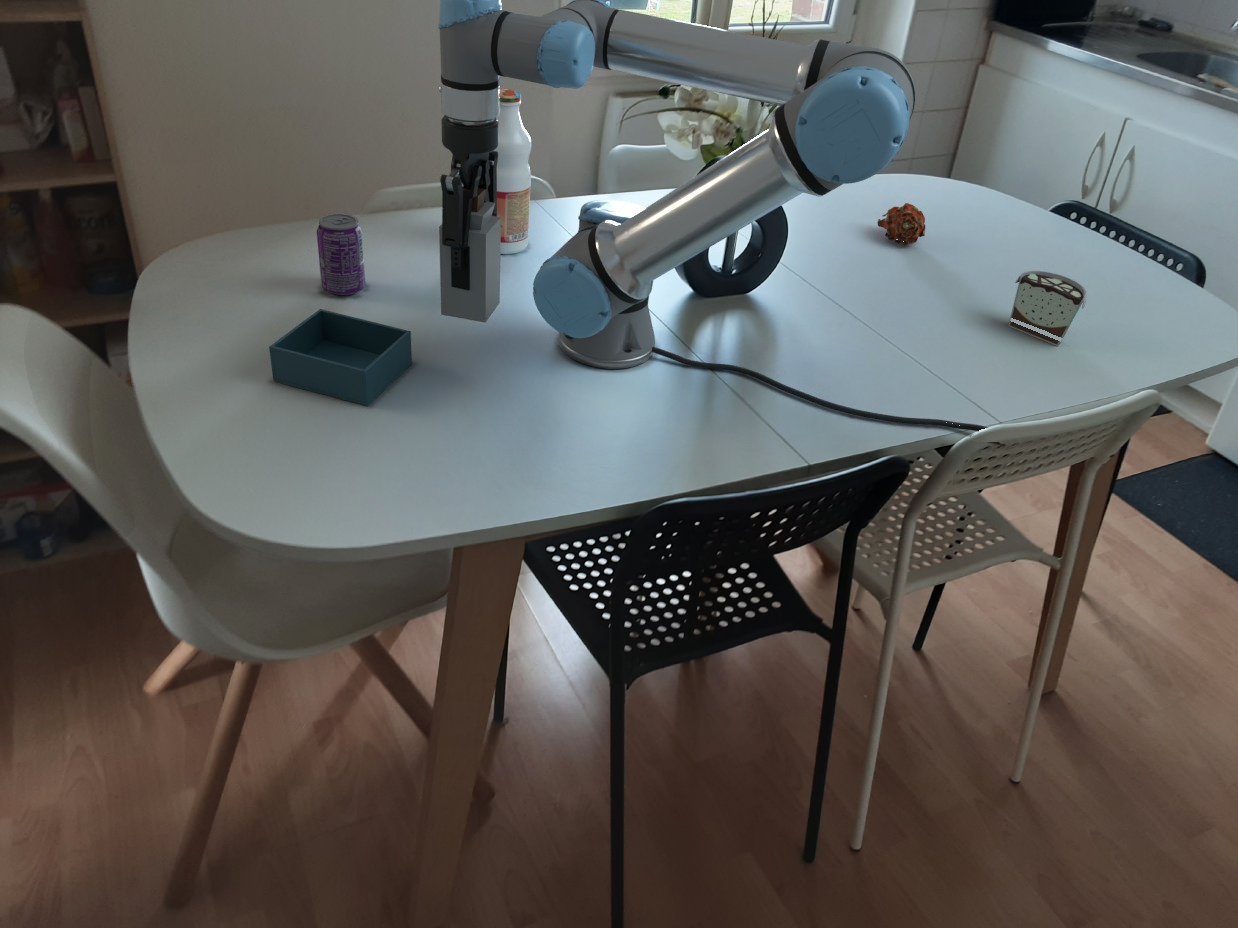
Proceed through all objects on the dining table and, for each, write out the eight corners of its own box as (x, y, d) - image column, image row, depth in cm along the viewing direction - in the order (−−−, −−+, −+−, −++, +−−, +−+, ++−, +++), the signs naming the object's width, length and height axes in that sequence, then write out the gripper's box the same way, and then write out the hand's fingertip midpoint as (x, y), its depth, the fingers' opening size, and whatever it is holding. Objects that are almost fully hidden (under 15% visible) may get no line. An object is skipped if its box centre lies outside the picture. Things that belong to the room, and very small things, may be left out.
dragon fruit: (907, 261, 199) (881, 245, 210) (942, 237, 199) (914, 222, 209) (891, 227, 195) (865, 213, 205) (927, 202, 194) (899, 189, 205)
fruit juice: (530, 256, 180) (536, 102, 164) (478, 255, 179) (480, 99, 162) (526, 235, 188) (532, 86, 171) (476, 234, 186) (478, 83, 170)
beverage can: (350, 276, 167) (346, 209, 160) (373, 291, 163) (370, 223, 156) (313, 286, 162) (307, 217, 155) (336, 302, 158) (330, 233, 152)
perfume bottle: (485, 322, 140) (486, 203, 130) (441, 314, 141) (438, 195, 131) (499, 303, 146) (501, 186, 135) (456, 295, 147) (455, 179, 136)
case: (412, 364, 145) (410, 331, 142) (367, 406, 135) (365, 371, 131) (323, 341, 148) (319, 308, 145) (273, 381, 138) (268, 346, 134)
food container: (1079, 339, 173) (1100, 288, 167) (1065, 349, 169) (1087, 298, 164) (1014, 313, 180) (1033, 263, 174) (1000, 323, 176) (1018, 272, 170)
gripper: (474, 95, 136) (474, 250, 149) (410, 130, 121) (417, 299, 134) (523, 104, 134) (519, 260, 147) (465, 141, 119) (466, 310, 133)
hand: (470, 278), depth 141 cm, fingers closed on perfume bottle, 6 cm apart
